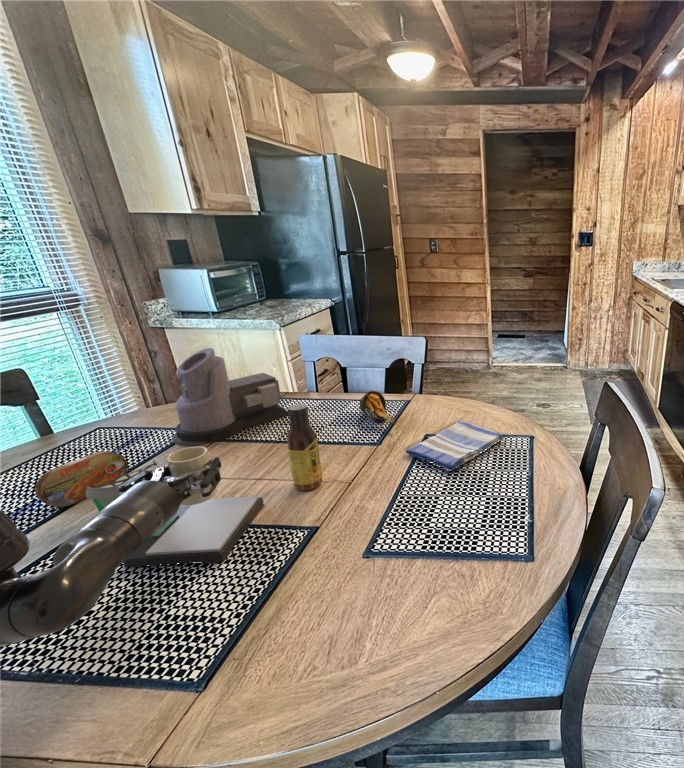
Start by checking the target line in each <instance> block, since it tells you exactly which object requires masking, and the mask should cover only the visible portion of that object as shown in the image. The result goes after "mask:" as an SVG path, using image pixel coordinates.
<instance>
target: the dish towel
mask: <svg viewBox="0 0 684 768" xmlns="http://www.w3.org/2000/svg"><path fill="white" fill-rule="evenodd" d="M504 439H505V438H504V437H503V433H501V432H497V431H495V430H491V429H488V428H486V427H484V426H479V425H476V424H473V423H472V422H468V421H465V420H460V421H457V422H455V423H454V424H453V425H451V426H450V427H447V428H446V429H443V430H442V431H440V432H438V433H436V434H435V435H433V436H431V437H429V438H427V439H424V440H423V441H422V442H420V443H418V444H415V445H414V446H412V447H409V448H407V449H406V450H405V453H406V454H407V455H409V456H412V457H413V456H414V457H413V458H416V457H417V459H418V458H420V459H422V460H426V461H428V462H433V461H435V462H433V464H436V465H438V466H440V467H443V468H445V469H448V470H452V469H455V468H456V467H458V468H459V467H461V466H462V465H464V464H466V463H468V462H470V461H471V460H473V459H475V458H476V457H478V456H479V455H478V454H480V452H482V451H483V450H485V449H486V448H488V447H490V446H491V445H493V444H495V443H496V442H498V441H500V442H502V441H503V440H504ZM477 455H478V456H477ZM475 456H476V457H475ZM420 459H419V460H420ZM422 460H421V461H422ZM469 460H470V461H469ZM467 461H468V462H467ZM465 462H466V463H465ZM460 465H461V466H460ZM456 469H457V468H456ZM456 469H455V470H456Z"/></svg>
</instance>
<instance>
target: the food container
mask: <svg viewBox="0 0 684 768" xmlns="http://www.w3.org/2000/svg"><path fill="white" fill-rule="evenodd" d="M161 467H162V466H161V464H160V463H159V462H158V461H157V460H155V459H152V463H151V464H148V465H147V466H144V467H142V468H140V469H137V470H133V471H130V472H126V474H124V475H121V476H119V477H118V478H116V479H114V480H112V481H110V482H108V483H106V484H104V485H102V486H100V487H97V488H90V487H87V490H86V499H90V500H92V501H93V503H94V505H95V506H96V508H97V510H98V513H99V512H100V511H101V510H103V509H104V508H105V507H106V506H108V505H109V504H110V503H112V502H113V501H114V500H115V499H117V498H118V497H119V496H120V493H119V490H118V487H119V486H120V485H122V484H124V483H125V482H127V481H128V480H130V479H132V478H133V477H135V476H136V475H138V474H140V473H141V472H143V471H145V470H151V472H152V471H156V469H158V468H161ZM142 481H145V479H144V478H143V479H142Z"/></svg>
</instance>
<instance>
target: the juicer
mask: <svg viewBox="0 0 684 768" xmlns="http://www.w3.org/2000/svg"><path fill="white" fill-rule="evenodd" d="M175 375H176V378H177V380H178V383H179V388H180V391H181V395H180V396H179V397H178V399H177V400H176V402H175V404H174V405H175V409H176V413H177V416H178V417H177V418H178V421H179V423H178V424H177V425H176V427H175V433H174V434H173V436H172V437H171V441H172V443H174V444H175V445H178V446H181V447H196V446H203V445H206V444H210V443H214V442H215V443H216V442H219V441H223V440H225V439H229V438H232V437H233V436H235V435H237V434H239V433H240V432H242V431H244V430H247V429H251V428H254V427H257V426H261V425H263V424H266V423H270V422H273V421H275V420H279V419H282V418H284V417H287V416H288V417H289V414H288V410H286V409H285V408H283V407H282V406H281V405H279V404H280V401H281V400H282V396H281V389H280V384H279V380H278V379H277V378H276V377H275V376H272V375H270V374H267V373H265V372H260V373H256V374H252V375H247V376H243V377H238V378H233V379H230V380H229V376H228V371H227V368H226V363H225V359H224V358H223V357H222V356H218V355H216V354H215V350H214V348H212V347H206V348H203V349H201V350H199V351H196V352H194V353H193V354H191V355H190V356H188V357H187V358H186V359H185V360H184V361H182V362H181V364H180V365H179V366H178V367H177V369H176V371H175Z"/></svg>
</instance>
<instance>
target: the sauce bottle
mask: <svg viewBox="0 0 684 768" xmlns="http://www.w3.org/2000/svg"><path fill="white" fill-rule="evenodd" d="M286 411H288V414H289V415H288V417H289V426H290V428H289V430H288V431H287V434H286V442H287V452H288V457H289V464H290V471H291V477H292V482H293V485H294V488H295V489H296V490H298V491H301V492H303V491H305V492H306V491H312V490H314V489H316V488H318V487H319V486H321V484H322V483H323V472H322V471H323V470H322V462H321V456H320V448H319V441H318V435H317V434H316V431H315V430H314V429H313V427H312V426H311V424H310V421H309V408H308V405H307V404H305V403H297V404H293V405H292V404H291V405H290V406H288V407H287V410H286Z"/></svg>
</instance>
